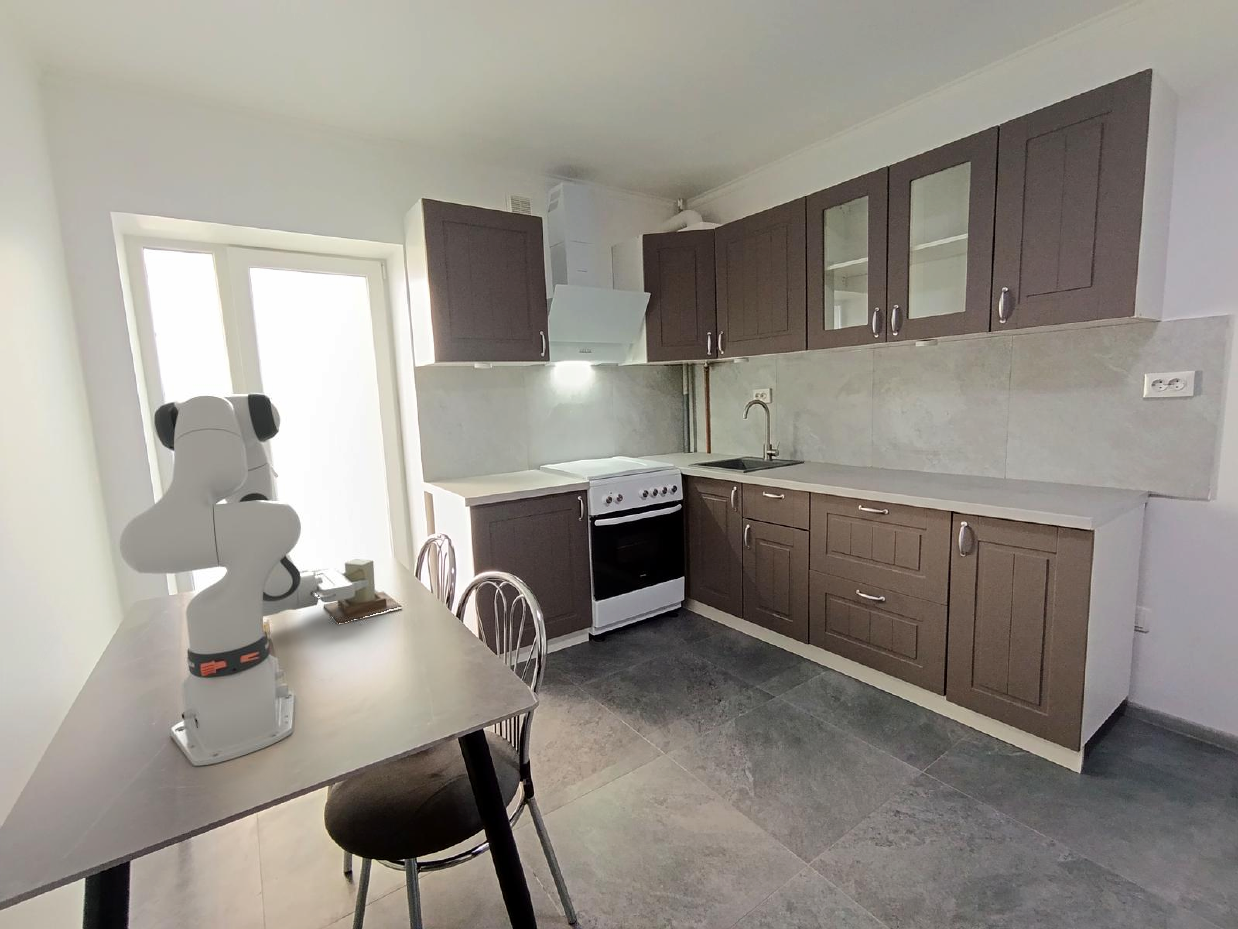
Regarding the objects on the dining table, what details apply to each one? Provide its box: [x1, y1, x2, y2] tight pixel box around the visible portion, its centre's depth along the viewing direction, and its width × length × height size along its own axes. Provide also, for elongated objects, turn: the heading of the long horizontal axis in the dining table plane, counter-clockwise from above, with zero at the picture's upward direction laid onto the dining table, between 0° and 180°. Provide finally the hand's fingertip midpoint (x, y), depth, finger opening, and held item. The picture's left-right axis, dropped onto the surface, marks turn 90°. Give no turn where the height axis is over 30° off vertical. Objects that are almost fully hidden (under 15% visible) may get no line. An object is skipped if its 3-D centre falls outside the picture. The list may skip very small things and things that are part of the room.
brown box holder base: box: [323, 589, 402, 625], centre depth 157 cm, size 16×16×3 cm
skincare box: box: [344, 558, 376, 605], centre depth 156 cm, size 6×4×12 cm
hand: (363, 578), depth 157 cm, fingers open, 8 cm apart
